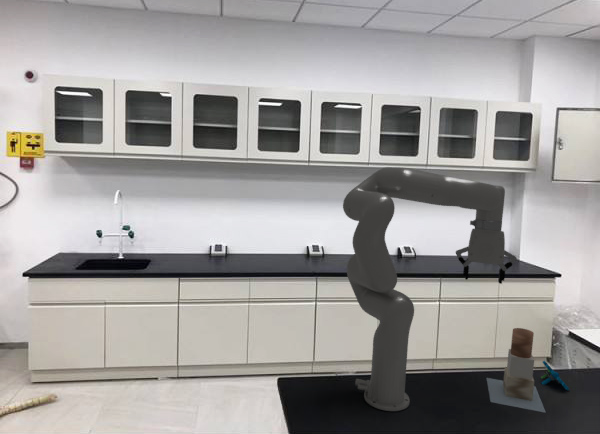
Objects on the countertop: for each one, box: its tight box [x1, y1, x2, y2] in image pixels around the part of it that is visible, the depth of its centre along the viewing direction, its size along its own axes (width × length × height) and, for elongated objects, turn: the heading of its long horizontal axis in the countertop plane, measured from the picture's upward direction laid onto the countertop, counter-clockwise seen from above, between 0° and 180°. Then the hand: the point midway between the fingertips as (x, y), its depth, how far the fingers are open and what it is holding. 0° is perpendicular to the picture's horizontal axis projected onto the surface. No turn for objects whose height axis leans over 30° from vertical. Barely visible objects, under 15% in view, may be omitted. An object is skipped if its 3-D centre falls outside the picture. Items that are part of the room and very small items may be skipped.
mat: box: [486, 377, 547, 413], centre depth 132 cm, size 14×16×1 cm
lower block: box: [502, 366, 535, 401], centre depth 132 cm, size 7×7×6 cm
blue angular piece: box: [540, 360, 570, 391], centre depth 139 cm, size 11×6×10 cm
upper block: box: [506, 348, 535, 380], centre depth 131 cm, size 6×6×6 cm
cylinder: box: [510, 327, 535, 358], centre depth 130 cm, size 6×6×7 cm
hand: (482, 280), depth 137 cm, fingers open, 9 cm apart
